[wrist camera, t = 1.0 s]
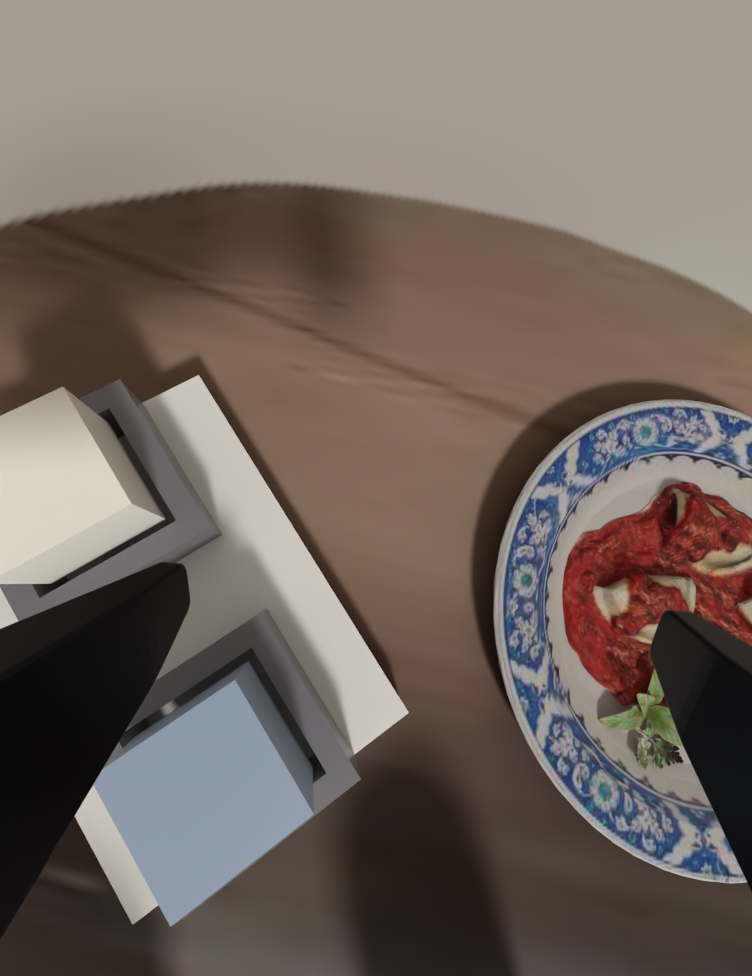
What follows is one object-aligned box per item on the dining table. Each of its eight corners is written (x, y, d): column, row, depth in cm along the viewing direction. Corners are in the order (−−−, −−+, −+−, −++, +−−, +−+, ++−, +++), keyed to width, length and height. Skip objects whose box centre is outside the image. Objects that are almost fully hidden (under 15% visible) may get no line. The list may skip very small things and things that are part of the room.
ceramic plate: (674, 341, 31) (711, 317, 29) (936, 642, 30) (1003, 649, 27) (387, 580, 25) (397, 580, 23) (695, 975, 24) (749, 1030, 21)
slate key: (200, 850, 18) (170, 927, 14) (136, 735, 18) (89, 777, 14) (312, 766, 19) (314, 814, 15) (249, 659, 19) (235, 679, 15)
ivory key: (51, 583, 19) (-16, 584, 15) (-6, 481, 19) (-86, 455, 15) (165, 519, 20) (131, 503, 16) (109, 424, 20) (62, 386, 16)
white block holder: (149, 892, 21) (100, 987, 16) (-53, 521, 23) (-151, 505, 18) (400, 702, 24) (424, 732, 19) (206, 390, 26) (183, 346, 21)
